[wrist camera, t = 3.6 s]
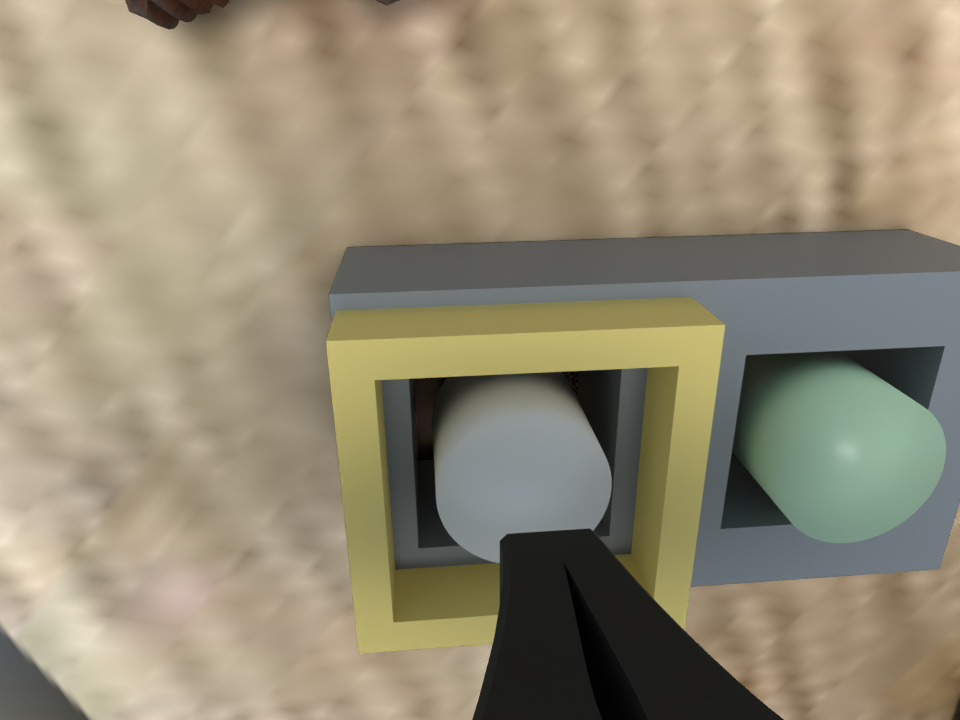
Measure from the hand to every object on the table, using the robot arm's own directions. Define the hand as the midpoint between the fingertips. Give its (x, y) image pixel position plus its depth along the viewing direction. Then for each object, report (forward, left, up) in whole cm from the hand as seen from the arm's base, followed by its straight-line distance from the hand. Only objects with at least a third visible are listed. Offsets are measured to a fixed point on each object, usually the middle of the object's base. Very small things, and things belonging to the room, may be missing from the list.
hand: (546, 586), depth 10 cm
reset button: (0, 0, -6) cm, 6 cm away
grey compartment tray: (-3, 0, -7) cm, 8 cm away
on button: (-6, 0, -6) cm, 8 cm away
